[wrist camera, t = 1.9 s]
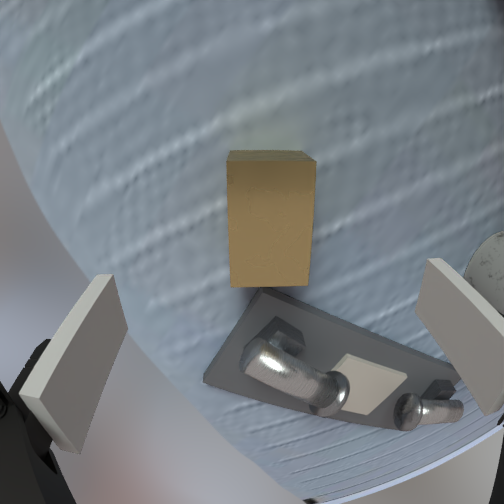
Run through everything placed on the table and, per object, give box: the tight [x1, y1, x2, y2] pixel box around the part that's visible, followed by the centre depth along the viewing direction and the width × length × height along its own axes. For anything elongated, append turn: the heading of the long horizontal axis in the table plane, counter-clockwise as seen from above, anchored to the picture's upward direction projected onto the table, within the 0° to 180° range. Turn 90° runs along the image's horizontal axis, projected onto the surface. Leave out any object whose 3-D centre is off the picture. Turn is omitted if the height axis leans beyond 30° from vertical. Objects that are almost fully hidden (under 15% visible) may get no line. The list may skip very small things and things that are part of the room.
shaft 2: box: [393, 379, 464, 431], centre depth 29 cm, size 9×4×6 cm, turn 72°
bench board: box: [203, 287, 461, 430], centre depth 31 cm, size 12×30×1 cm, turn 62°
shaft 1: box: [239, 316, 350, 418], centre depth 25 cm, size 9×4×6 cm, turn 52°
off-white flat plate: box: [331, 353, 407, 415], centre depth 30 cm, size 7×9×1 cm
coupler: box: [226, 150, 316, 287], centre depth 21 cm, size 8×5×5 cm, turn 0°
